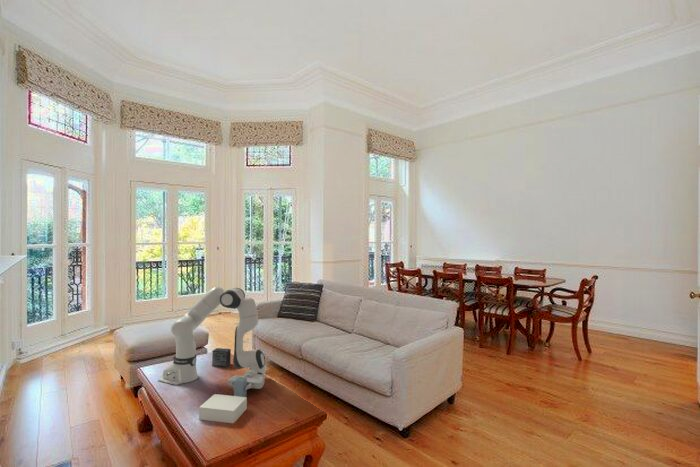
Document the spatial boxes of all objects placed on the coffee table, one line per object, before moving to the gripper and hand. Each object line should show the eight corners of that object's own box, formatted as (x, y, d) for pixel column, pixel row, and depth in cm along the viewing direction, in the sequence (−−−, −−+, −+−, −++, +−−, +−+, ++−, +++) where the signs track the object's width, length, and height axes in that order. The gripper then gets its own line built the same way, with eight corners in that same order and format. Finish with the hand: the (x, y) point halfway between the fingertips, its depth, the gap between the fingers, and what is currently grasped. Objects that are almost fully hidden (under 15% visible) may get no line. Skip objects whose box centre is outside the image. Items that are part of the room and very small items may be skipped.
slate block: (233, 399, 192) (234, 380, 192) (238, 394, 197) (238, 377, 197) (242, 399, 191) (242, 381, 191) (246, 395, 196) (246, 377, 196)
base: (198, 419, 171) (199, 407, 171) (214, 405, 184) (214, 394, 184) (233, 423, 168) (233, 410, 168) (246, 408, 182) (246, 397, 182)
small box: (231, 363, 242) (231, 348, 242) (226, 367, 236) (227, 351, 236) (216, 362, 243) (216, 347, 243) (211, 366, 237) (212, 350, 237)
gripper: (234, 371, 208) (222, 380, 195) (266, 373, 205) (257, 384, 191) (234, 381, 208) (221, 392, 195) (266, 384, 205) (256, 395, 191)
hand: (239, 388), depth 193 cm, fingers closed on slate block, 5 cm apart
